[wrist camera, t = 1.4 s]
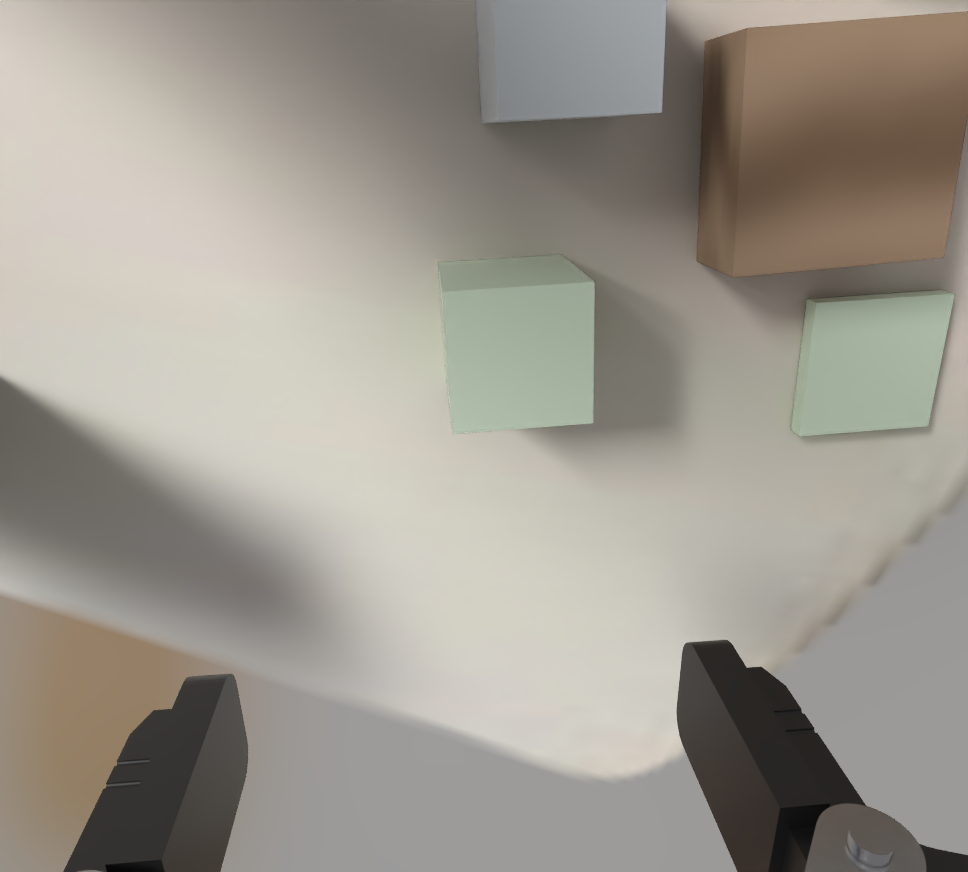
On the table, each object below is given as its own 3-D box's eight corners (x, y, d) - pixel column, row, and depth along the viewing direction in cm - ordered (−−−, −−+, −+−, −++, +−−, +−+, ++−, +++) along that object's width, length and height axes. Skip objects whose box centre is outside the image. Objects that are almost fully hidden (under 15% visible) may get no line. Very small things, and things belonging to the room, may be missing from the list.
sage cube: (437, 261, 29) (442, 291, 24) (561, 254, 30) (594, 281, 24) (446, 380, 31) (452, 434, 26) (562, 372, 31) (593, 423, 26)
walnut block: (702, 42, 27) (747, 28, 24) (909, 26, 28) (985, 10, 24) (694, 259, 30) (733, 277, 27) (880, 242, 31) (944, 257, 27)
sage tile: (806, 299, 31) (816, 303, 30) (941, 289, 31) (954, 293, 31) (790, 429, 33) (799, 436, 33) (917, 419, 34) (928, 426, 33)
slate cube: (474, -33, 25) (490, -79, 20) (615, -38, 26) (670, -85, 20) (481, 123, 27) (498, 120, 22) (612, 116, 28) (661, 112, 22)
